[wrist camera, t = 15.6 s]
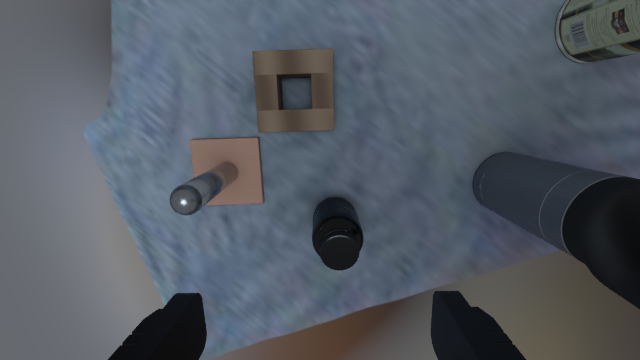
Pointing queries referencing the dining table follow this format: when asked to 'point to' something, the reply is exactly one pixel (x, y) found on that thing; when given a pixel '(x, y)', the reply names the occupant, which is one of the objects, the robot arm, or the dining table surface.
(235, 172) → the metal pin
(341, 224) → the supplement bottle
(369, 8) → the dining table surface
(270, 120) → the walnut block
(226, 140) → the terracotta mat
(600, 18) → the coffee can
